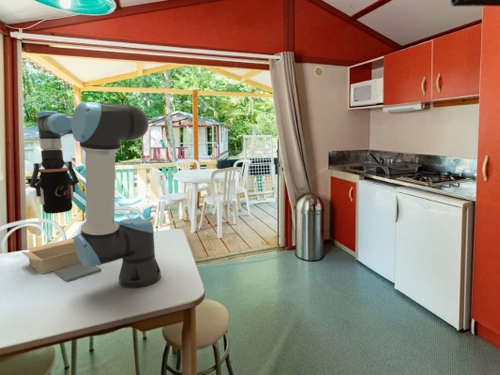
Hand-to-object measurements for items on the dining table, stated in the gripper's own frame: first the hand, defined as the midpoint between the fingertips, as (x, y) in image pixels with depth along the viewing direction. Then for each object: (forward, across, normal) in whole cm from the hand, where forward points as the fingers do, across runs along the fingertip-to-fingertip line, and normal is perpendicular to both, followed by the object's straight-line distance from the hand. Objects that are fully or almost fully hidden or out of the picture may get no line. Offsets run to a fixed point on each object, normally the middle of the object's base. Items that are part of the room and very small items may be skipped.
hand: (57, 202), depth 135 cm
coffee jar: (+4, 0, 0) cm, 4 cm away
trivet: (+27, 0, +14) cm, 31 cm away
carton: (+27, 0, -4) cm, 27 cm away
